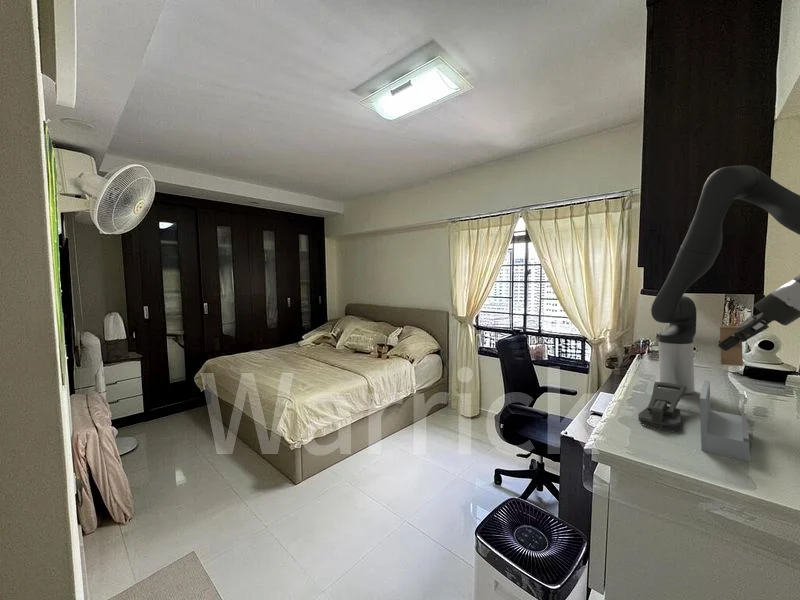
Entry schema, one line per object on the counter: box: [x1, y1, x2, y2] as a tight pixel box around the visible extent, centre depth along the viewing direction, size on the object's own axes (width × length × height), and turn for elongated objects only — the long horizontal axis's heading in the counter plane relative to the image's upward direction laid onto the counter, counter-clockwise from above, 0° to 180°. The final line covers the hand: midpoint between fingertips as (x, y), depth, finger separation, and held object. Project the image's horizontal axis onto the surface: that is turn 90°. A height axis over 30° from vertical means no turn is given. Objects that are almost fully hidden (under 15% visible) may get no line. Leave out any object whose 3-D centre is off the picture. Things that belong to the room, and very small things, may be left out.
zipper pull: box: [638, 381, 687, 433], centre depth 92 cm, size 9×7×25 cm
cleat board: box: [699, 379, 751, 462], centre depth 76 cm, size 18×7×12 cm, turn 134°
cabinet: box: [719, 325, 746, 367], centre depth 86 cm, size 5×5×10 cm
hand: (721, 346), depth 87 cm, fingers closed on cabinet, 5 cm apart
